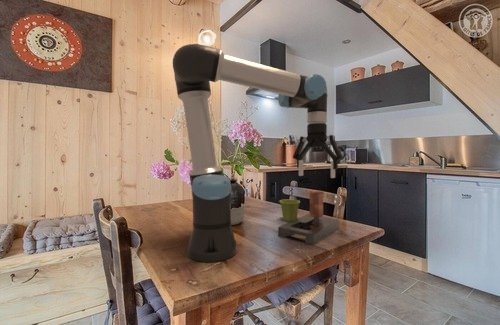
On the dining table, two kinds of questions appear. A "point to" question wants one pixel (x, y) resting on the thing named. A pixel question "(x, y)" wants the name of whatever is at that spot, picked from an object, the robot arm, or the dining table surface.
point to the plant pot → (289, 209)
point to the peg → (316, 206)
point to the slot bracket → (312, 236)
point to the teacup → (237, 215)
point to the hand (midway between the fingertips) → (316, 176)
